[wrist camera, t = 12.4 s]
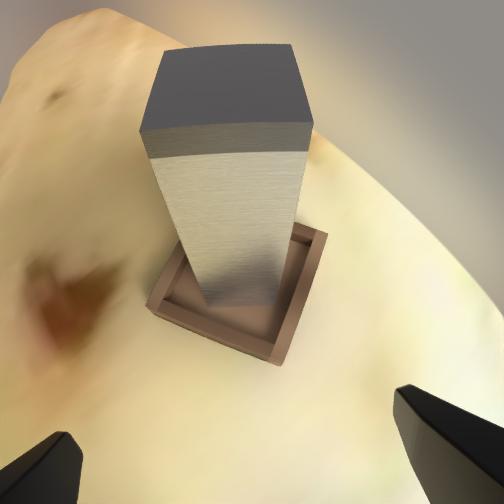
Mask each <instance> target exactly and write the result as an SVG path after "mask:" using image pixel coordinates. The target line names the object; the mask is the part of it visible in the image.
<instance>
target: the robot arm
mask: <svg viewBox="0 0 504 504" xmlns="http://www.w3.org/2000/svg"><path fill="white" fill-rule="evenodd" d="M393 416H394V419H395V422H396V425H397V427H398V430H399V433H400V436H401V438H402V441H403V444H404V447H405V450H406V452H407V455H408V458H409V461H410V463H411V466H412V468H413V470H414V472H415V474H416V476H417V478H418V480H419V482H420V484H421V486H422V488H423V490H424V492H425V494H426V496H427V498H428V500H429V502H430V504H504V428H503V427H500V426H498V425H496V424H494V423H491V422H489V421H487V420H485V419H483V418H480V417H478V416H476V415H474V414H472V413H470V412H468V411H465V410H463V409H461V408H459V407H457V406H455V405H453V404H451V403H448V402H446V401H444V400H442V399H440V398H438V397H436V396H434V395H432V394H430V393H428V392H426V391H424V390H422V389H420V388H418V387H416V386H414V385H411V384H408V385H405V386H402V387H399V388H397V389H396V390H395V392H394V404H393ZM82 462H83V453H82V450H81V449H80V447H79V446H78V444H77V443H76V442H75V440H74V439H73V437H72V436H71V435H70V434H69V433H68V432H62V431H57V432H55V433H53V434H52V435H50V436H49V437H47V438H46V439H45V440H43V441H42V442H40V443H39V444H37V445H36V446H35V447H33V448H32V449H30V450H29V451H27V452H26V453H25V454H23V455H22V456H20V457H19V458H17V459H16V460H14V461H13V462H11V463H10V464H9V465H7V466H6V467H4V468H3V469H1V470H0V504H77V500H78V493H79V485H80V477H81V469H82Z"/></svg>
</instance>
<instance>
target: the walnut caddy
mask: <svg viewBox="0 0 504 504" xmlns="http://www.w3.org/2000/svg"><path fill="white" fill-rule="evenodd" d="M327 236H328V233H325V232H322V231H319V230H317V229H314V228H311V227H308V226H305V225H302V224H299V223H296V222H294V223H293V228H292V233H291V237H290V242H289V247H288V251H287V256H286V260H285V265H284V269H283V274H282V278H281V283H280V287H279V291H278V296H277V300H276V304H275V305H262V306H238V307H209V306H208V304H207V302H206V300H205V297H204V295H203V293H202V290H201V288H200V286H199V283H198V281H197V279H196V276H195V274H194V272H193V269H192V267H191V265H190V262H189V260H188V257H187V255H186V253H185V250H184V248H183V245H182V243H181V240H179V242H178V244H177V246H176V247H175V249H174V251H173V253H172V255H171V257H170V259H169V261H168V262H167V264H166V266H165V268H164V270H163V272H162V274H161V276H160V278H159V280H158V282H157V284H156V285H155V287H154V289H153V291H152V293H151V295H150V297H149V299H148V301H147V303H146V305H145V306H146V307H147V308H148V309H149V310H150V311H151V312H152V313H153V314H154V315H156V316H158V317H161V318H163V319H165V320H167V321H169V322H172V323H174V324H176V325H178V326H180V327H183V328H185V329H187V330H190V331H192V332H194V333H197V334H199V335H201V336H204V337H206V338H208V339H211V340H213V341H216V342H218V343H220V344H223V345H225V346H228V347H230V348H233V349H235V350H238V351H240V352H243V353H245V354H248V355H251V356H253V357H256V358H259V359H261V360H264V361H267V362H269V363H272V364H275V365H277V366H281V365H282V364H283V362H284V360H285V357H286V354H287V352H288V349H289V346H290V344H291V341H292V338H293V336H294V333H295V330H296V328H297V325H298V322H299V319H300V316H301V314H302V311H303V308H304V305H305V302H306V300H307V297H308V294H309V291H310V288H311V285H312V282H313V279H314V276H315V273H316V270H317V267H318V264H319V261H320V258H321V255H322V252H323V249H324V246H325V243H326V239H327Z"/></svg>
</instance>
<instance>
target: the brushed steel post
mask: <svg viewBox="0 0 504 504" xmlns="http://www.w3.org/2000/svg"><path fill="white" fill-rule="evenodd" d="M313 123H314V122H313V118H312V115H311V111H310V107H309V104H308V100H307V96H306V93H305V89H304V86H303V82H302V79H301V76H300V73H299V69H298V66H297V62H296V59H295V56H294V53H293V50H292V47H291V45H290V44H236V45H218V46H204V47H193V48H183V49H175V50H167V51H164V54H163V56H162V59H161V62H160V65H159V68H158V71H157V74H156V77H155V80H154V83H153V86H152V90H151V93H150V96H149V99H148V103H147V106H146V109H145V113H144V116H143V120H142V124H141V127H140V131H139V132H140V134H141V137H142V140H143V143H144V146H145V149H146V151H147V154H148V157H149V160H150V163H151V165H152V168H153V171H154V173H155V176H156V179H157V181H158V184H159V187H160V189H161V192H162V195H163V197H164V200H165V203H166V205H167V208H168V210H169V213H170V215H171V218H172V220H173V223H174V225H175V228H176V231H177V233H178V235H179V238H180V240H181V243H182V245H183V248H184V250H185V253H186V255H187V257H188V260H189V262H190V265H191V267H192V269H193V272H194V274H195V276H196V279H197V281H198V283H199V286H200V288H201V290H202V293H203V295H204V297H205V300H206V302H207V304H208V306H209V307H238V306H262V305H275V304H276V300H277V296H278V291H279V287H280V283H281V278H282V274H283V269H284V265H285V260H286V256H287V251H288V247H289V242H290V237H291V233H292V228H293V223H294V219H295V214H296V209H297V204H298V200H299V195H300V190H301V185H302V180H303V175H304V170H305V165H306V160H307V155H308V149H309V144H310V139H311V134H312V128H313Z"/></svg>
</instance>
